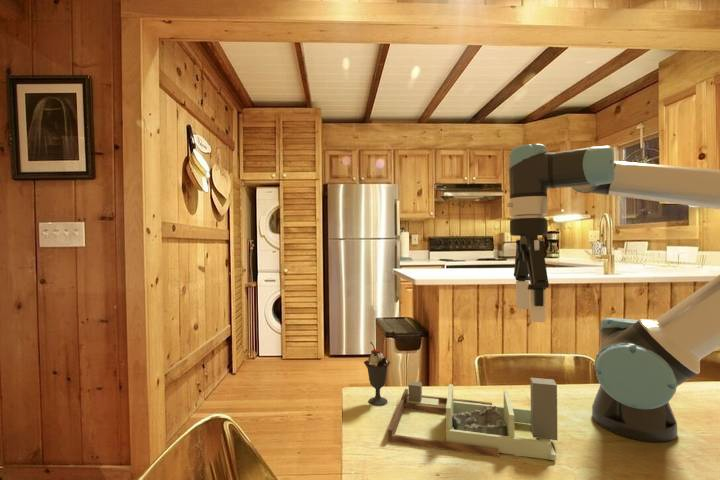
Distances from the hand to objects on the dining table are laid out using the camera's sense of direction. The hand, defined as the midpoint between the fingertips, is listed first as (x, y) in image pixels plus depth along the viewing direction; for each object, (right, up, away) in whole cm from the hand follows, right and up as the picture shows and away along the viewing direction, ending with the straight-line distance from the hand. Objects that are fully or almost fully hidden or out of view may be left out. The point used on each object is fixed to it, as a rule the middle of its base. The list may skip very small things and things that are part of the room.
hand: (529, 314), depth 82 cm
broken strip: (-17, -25, +10) cm, 32 cm away
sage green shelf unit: (-8, -24, -3) cm, 26 cm away
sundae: (-33, -25, +14) cm, 43 cm away
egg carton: (-12, -25, -2) cm, 28 cm away
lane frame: (-18, -25, +2) cm, 31 cm away
